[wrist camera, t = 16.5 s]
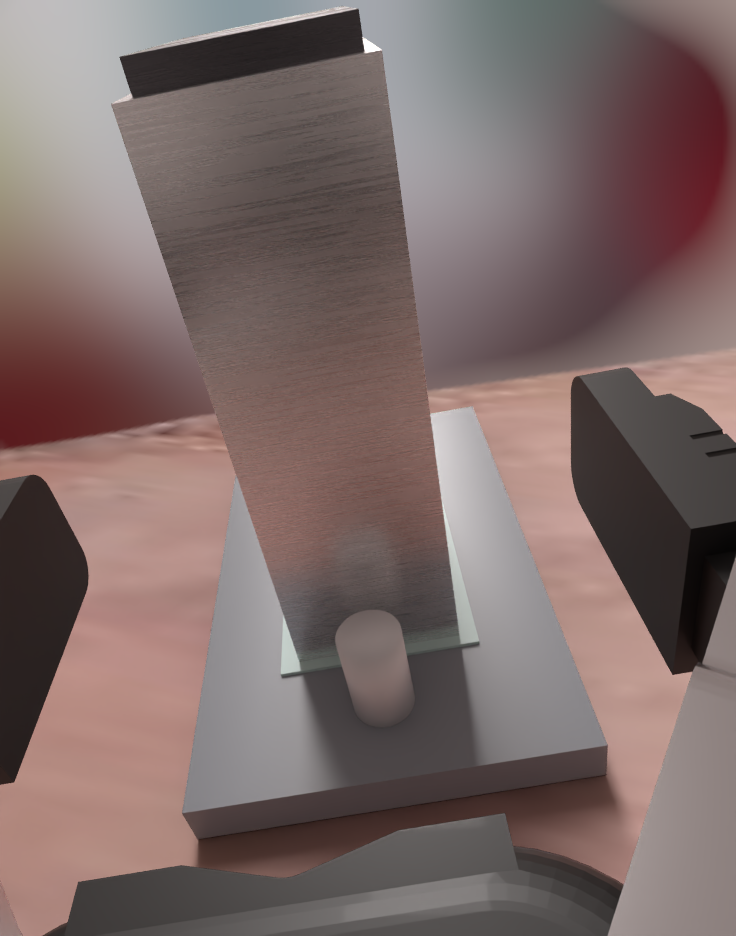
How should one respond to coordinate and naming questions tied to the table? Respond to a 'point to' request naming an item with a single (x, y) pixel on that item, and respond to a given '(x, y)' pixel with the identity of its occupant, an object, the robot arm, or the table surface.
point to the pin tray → (458, 690)
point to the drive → (300, 308)
